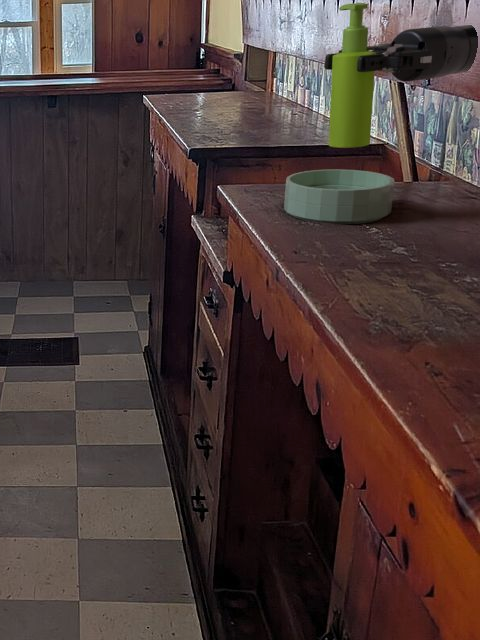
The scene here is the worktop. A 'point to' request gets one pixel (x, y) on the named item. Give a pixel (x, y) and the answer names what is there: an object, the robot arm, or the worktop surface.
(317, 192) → the bowl
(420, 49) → the robot arm
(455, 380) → the worktop surface
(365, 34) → the soap dispenser
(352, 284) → the worktop surface
